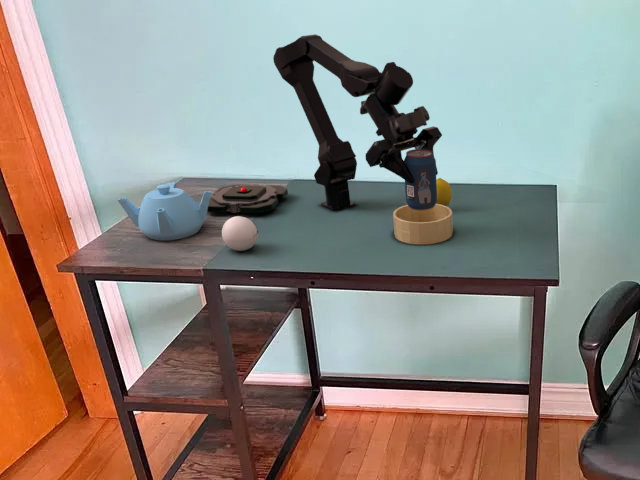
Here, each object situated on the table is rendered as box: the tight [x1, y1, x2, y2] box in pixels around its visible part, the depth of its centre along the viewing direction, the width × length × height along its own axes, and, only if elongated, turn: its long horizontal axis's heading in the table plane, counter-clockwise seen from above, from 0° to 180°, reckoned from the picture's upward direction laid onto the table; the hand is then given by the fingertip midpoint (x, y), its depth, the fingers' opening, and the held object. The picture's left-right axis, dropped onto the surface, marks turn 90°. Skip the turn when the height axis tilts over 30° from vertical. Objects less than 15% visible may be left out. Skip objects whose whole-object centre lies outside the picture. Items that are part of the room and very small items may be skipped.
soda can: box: [403, 148, 437, 211], centre depth 157 cm, size 7×7×12 cm
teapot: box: [117, 182, 212, 241], centre depth 162 cm, size 15×15×11 cm
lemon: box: [436, 177, 453, 207], centre depth 175 cm, size 6×6×8 cm
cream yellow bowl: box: [392, 204, 454, 246], centre depth 162 cm, size 13×13×5 cm
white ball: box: [221, 215, 259, 252], centre depth 155 cm, size 10×7×7 cm
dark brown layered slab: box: [207, 183, 289, 214], centre depth 180 cm, size 18×18×5 cm
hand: (424, 178), depth 156 cm, fingers closed on soda can, 7 cm apart
